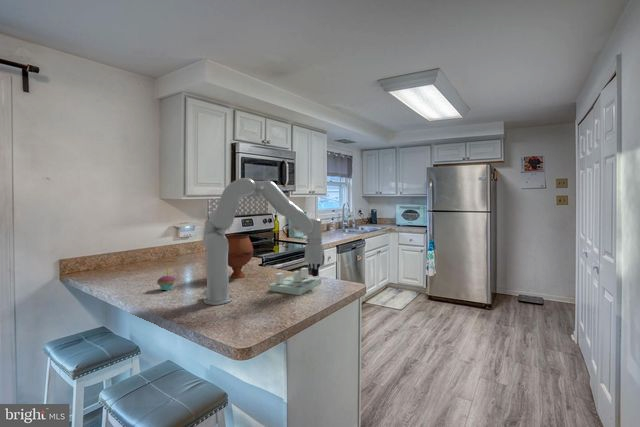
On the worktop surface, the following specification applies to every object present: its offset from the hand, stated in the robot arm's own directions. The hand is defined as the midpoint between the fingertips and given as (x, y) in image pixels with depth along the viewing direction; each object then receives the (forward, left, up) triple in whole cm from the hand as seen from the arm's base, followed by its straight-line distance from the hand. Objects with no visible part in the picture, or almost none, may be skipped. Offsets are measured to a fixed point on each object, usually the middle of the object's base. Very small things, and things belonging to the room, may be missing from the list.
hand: (315, 275), depth 175 cm
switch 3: (-7, 0, -2) cm, 7 cm away
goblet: (-51, -4, -5) cm, 51 cm away
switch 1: (-13, -15, -2) cm, 20 cm away
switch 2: (-7, -8, -2) cm, 10 cm away
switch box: (-8, -8, -5) cm, 12 cm away
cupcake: (-67, -40, -5) cm, 77 cm away
